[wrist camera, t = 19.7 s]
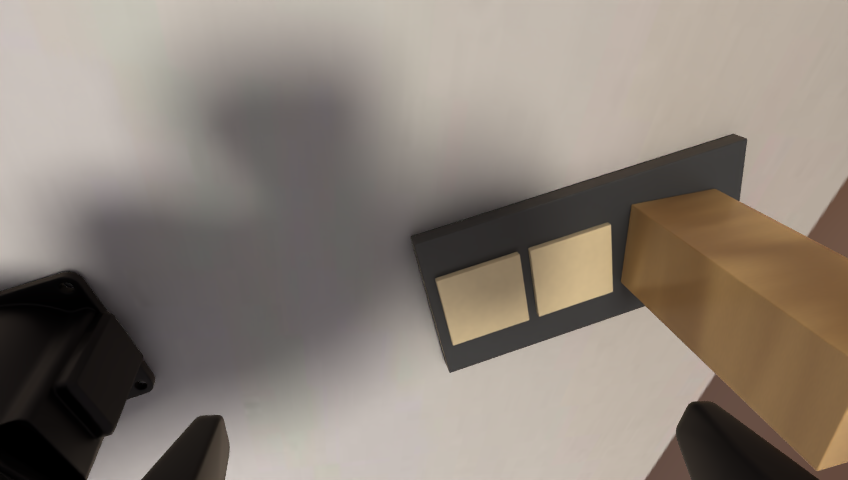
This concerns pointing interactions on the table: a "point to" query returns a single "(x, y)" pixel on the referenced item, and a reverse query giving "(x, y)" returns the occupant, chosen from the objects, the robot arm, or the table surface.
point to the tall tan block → (751, 310)
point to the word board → (553, 255)
